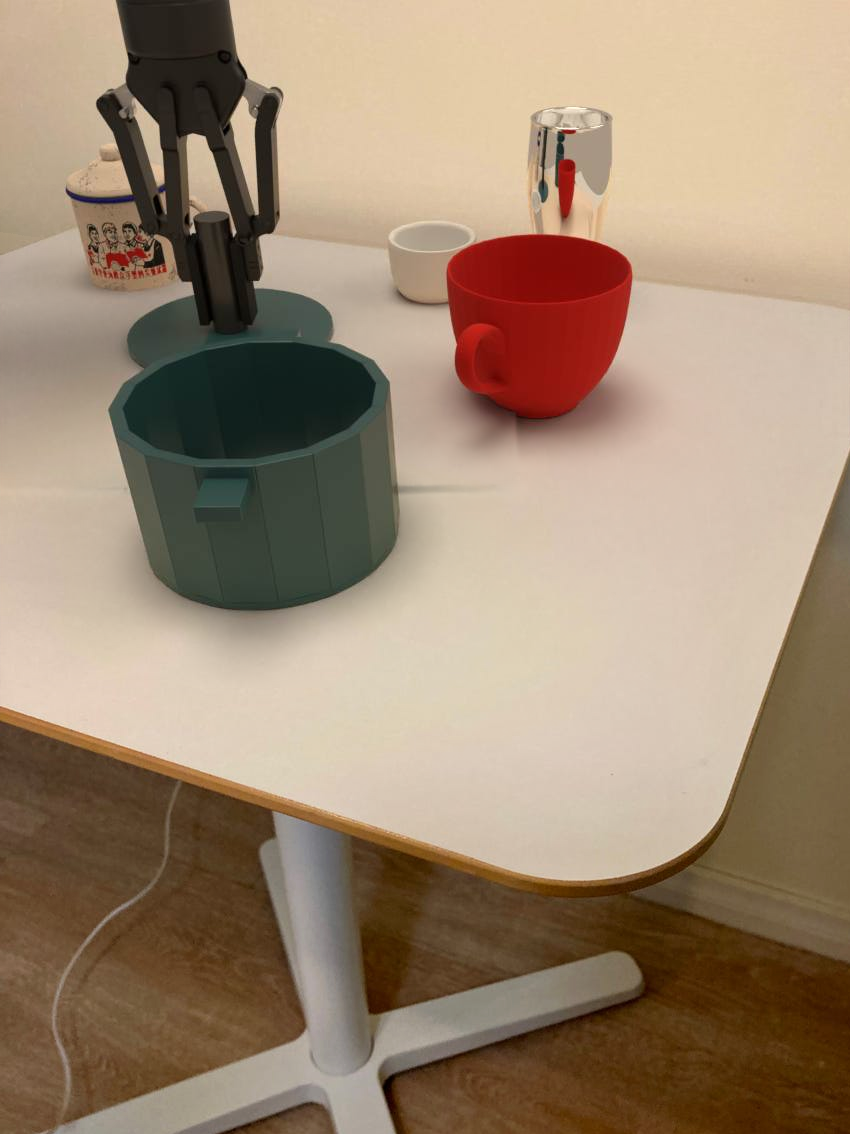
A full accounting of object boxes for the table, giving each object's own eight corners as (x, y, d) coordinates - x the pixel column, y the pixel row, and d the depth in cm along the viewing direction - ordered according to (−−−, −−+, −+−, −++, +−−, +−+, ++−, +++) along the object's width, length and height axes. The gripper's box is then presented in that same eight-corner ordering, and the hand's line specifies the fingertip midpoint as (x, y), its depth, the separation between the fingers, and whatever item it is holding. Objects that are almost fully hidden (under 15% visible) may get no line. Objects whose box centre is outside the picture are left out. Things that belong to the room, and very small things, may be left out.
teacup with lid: (80, 299, 94) (44, 163, 86) (100, 262, 101) (68, 133, 93) (214, 294, 94) (190, 158, 87) (225, 257, 101) (203, 128, 94)
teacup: (491, 305, 92) (490, 243, 88) (409, 320, 89) (406, 258, 86) (448, 266, 99) (446, 208, 95) (372, 280, 96) (367, 220, 93)
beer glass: (613, 292, 94) (627, 110, 84) (586, 321, 89) (597, 132, 79) (542, 280, 96) (547, 102, 86) (512, 308, 91) (513, 123, 81)
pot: (104, 641, 58) (56, 495, 51) (188, 448, 73) (160, 319, 67) (384, 640, 57) (370, 494, 51) (408, 446, 73) (400, 317, 67)
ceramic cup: (386, 436, 74) (375, 301, 68) (504, 346, 85) (504, 222, 79) (546, 484, 69) (551, 343, 63) (650, 382, 80) (663, 252, 74)
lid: (104, 389, 81) (69, 257, 74) (158, 301, 93) (132, 183, 87) (320, 387, 80) (304, 255, 74) (344, 300, 93) (332, 181, 86)
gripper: (35, -4, 67) (121, 338, 83) (278, -7, 67) (319, 337, 83) (71, -23, 73) (145, 301, 88) (295, -26, 73) (330, 299, 88)
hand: (229, 318), depth 85 cm, fingers closed on lid, 3 cm apart
